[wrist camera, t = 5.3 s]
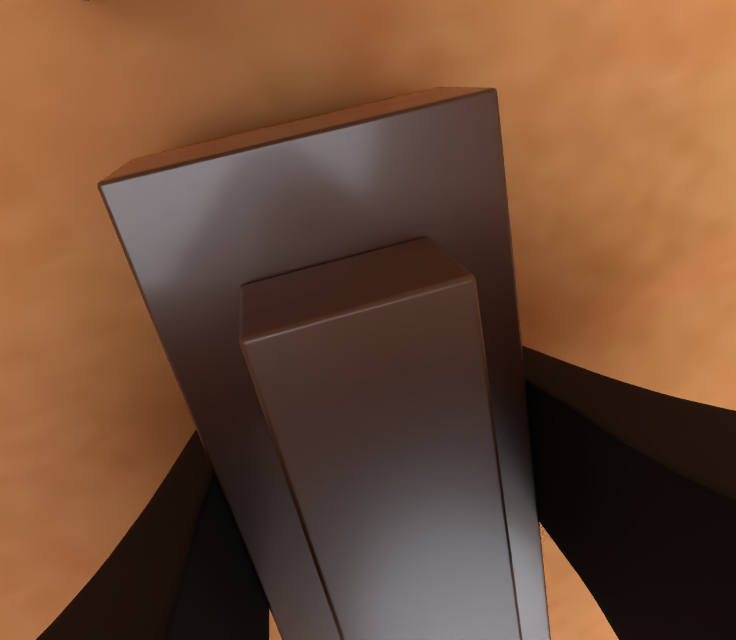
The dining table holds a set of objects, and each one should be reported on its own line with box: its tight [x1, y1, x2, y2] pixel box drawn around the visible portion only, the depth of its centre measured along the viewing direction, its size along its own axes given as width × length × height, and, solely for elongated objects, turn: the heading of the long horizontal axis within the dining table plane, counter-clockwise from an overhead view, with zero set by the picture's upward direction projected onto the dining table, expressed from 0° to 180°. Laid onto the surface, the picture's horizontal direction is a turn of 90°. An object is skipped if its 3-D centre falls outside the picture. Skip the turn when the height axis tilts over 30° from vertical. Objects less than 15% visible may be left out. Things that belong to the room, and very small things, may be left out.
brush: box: [98, 87, 551, 640], centre depth 9 cm, size 11×5×5 cm, turn 11°
